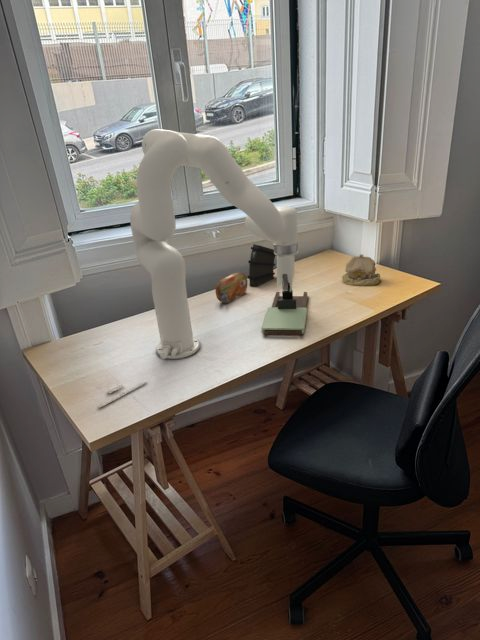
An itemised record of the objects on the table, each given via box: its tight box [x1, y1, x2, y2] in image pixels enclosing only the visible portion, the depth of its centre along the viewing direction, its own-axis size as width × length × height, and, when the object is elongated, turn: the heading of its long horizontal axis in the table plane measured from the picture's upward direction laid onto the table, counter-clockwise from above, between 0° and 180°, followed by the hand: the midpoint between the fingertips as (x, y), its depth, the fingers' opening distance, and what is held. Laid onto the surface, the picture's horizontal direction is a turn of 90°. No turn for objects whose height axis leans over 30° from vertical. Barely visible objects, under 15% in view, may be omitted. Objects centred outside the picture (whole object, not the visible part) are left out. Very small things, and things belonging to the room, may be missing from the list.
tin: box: [215, 272, 248, 304], centre depth 178 cm, size 15×3×8 cm, turn 143°
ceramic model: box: [343, 254, 381, 286], centre depth 185 cm, size 14×11×10 cm
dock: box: [264, 291, 308, 337], centre depth 164 cm, size 30×11×2 cm, turn 172°
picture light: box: [98, 382, 145, 408], centre depth 129 cm, size 14×4×2 cm, turn 138°
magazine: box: [247, 243, 277, 287], centre depth 190 cm, size 4×13×15 cm, turn 137°
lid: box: [260, 299, 308, 335], centre depth 156 cm, size 15×13×5 cm
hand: (287, 302), depth 163 cm, fingers closed
